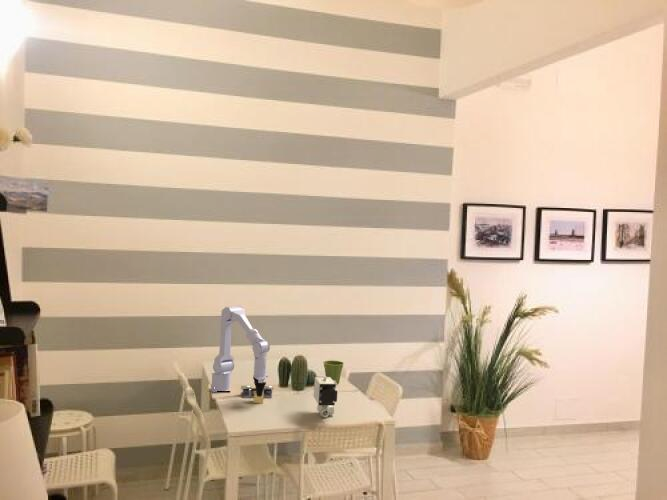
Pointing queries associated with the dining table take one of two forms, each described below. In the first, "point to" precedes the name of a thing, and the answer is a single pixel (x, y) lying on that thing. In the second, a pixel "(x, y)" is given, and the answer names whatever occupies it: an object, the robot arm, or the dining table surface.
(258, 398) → the coupler
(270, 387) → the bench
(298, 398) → the dining table surface
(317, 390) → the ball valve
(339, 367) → the plant pot
